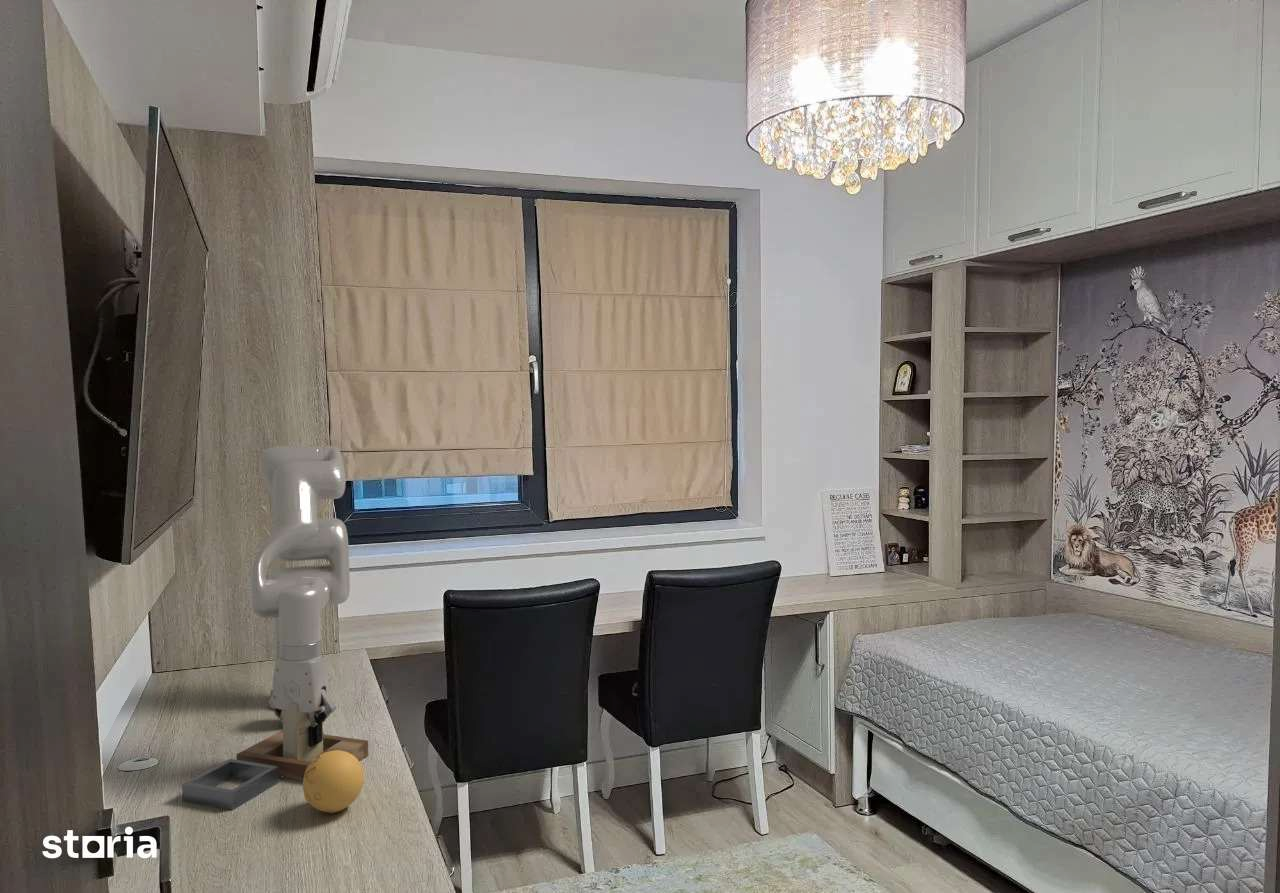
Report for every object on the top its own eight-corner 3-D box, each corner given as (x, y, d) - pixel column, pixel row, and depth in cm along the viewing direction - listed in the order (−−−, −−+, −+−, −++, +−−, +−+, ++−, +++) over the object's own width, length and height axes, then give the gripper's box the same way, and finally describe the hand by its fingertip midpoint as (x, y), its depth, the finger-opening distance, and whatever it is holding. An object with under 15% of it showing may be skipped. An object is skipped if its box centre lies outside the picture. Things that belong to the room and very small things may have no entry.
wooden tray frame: (285, 743, 172) (285, 728, 172) (368, 755, 166) (368, 740, 166) (236, 769, 160) (236, 754, 160) (324, 784, 154) (324, 767, 154)
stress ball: (371, 807, 147) (353, 757, 152) (371, 782, 140) (353, 730, 146) (311, 831, 142) (296, 779, 147) (309, 806, 135) (293, 752, 141)
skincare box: (296, 767, 160) (295, 705, 159) (282, 761, 162) (280, 700, 161) (324, 755, 165) (323, 694, 164) (310, 750, 167) (309, 690, 167)
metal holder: (230, 774, 158) (230, 758, 158) (278, 782, 155) (278, 766, 154) (182, 800, 148) (181, 784, 147) (232, 810, 144) (232, 793, 144)
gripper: (250, 651, 161) (253, 744, 162) (324, 660, 156) (327, 756, 157) (278, 640, 168) (281, 729, 170) (350, 648, 163) (352, 740, 164)
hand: (303, 741), depth 163 cm, fingers closed on skincare box, 5 cm apart
